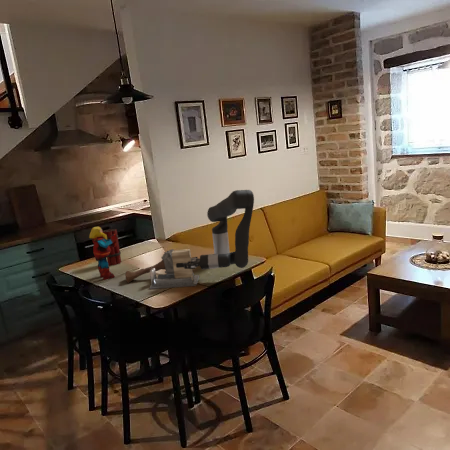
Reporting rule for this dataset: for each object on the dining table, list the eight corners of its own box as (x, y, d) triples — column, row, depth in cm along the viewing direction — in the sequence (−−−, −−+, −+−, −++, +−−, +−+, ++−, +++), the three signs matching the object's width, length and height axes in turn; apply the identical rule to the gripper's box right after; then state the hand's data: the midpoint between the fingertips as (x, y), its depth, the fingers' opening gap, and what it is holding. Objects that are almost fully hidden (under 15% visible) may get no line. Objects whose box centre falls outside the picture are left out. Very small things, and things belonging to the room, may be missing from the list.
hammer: (129, 282, 230) (180, 267, 234) (129, 292, 220) (183, 276, 224) (121, 260, 223) (174, 245, 227) (121, 269, 214) (176, 253, 218)
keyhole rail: (155, 279, 222) (153, 265, 220) (199, 276, 220) (197, 262, 218) (149, 289, 208) (147, 274, 206) (196, 285, 206) (194, 270, 204)
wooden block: (176, 279, 216) (173, 250, 212) (193, 278, 215) (190, 249, 212) (175, 282, 212) (171, 252, 208) (192, 280, 211) (188, 251, 208)
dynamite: (104, 263, 261) (97, 218, 255) (117, 260, 267) (111, 215, 260) (111, 266, 254) (104, 219, 247) (124, 262, 259) (117, 216, 253)
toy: (126, 276, 231) (119, 225, 225) (100, 283, 223) (92, 230, 217) (118, 270, 243) (111, 222, 237) (93, 277, 236) (85, 226, 230)
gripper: (210, 250, 217) (178, 253, 218) (207, 258, 203) (173, 261, 204) (211, 264, 218) (180, 266, 219) (209, 272, 204) (175, 275, 205)
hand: (177, 264), depth 212 cm, fingers closed on wooden block, 4 cm apart
